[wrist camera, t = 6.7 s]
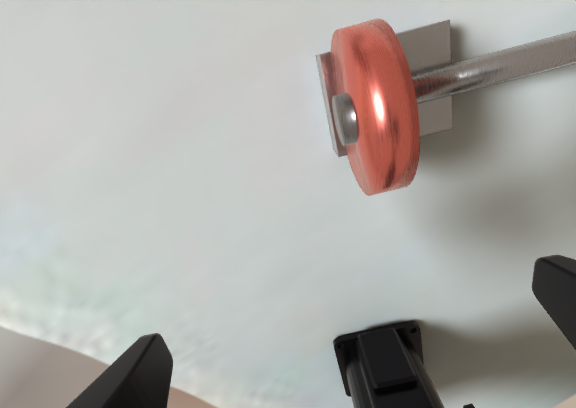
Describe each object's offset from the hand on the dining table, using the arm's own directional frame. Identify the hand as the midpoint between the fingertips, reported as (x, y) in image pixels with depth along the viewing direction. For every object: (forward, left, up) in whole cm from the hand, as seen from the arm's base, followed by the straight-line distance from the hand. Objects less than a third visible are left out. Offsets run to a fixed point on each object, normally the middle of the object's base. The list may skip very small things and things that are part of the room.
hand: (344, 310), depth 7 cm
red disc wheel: (+3, -11, -12) cm, 16 cm away
